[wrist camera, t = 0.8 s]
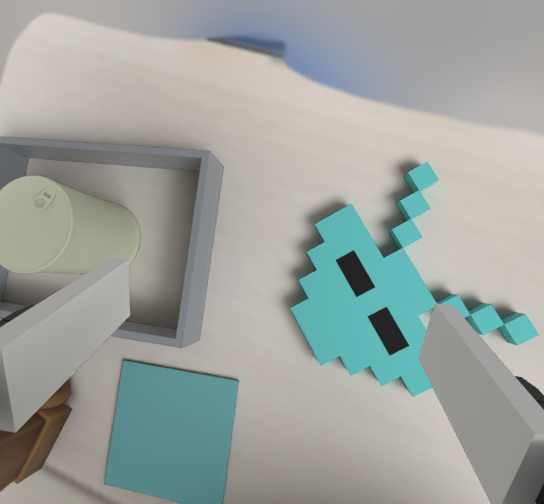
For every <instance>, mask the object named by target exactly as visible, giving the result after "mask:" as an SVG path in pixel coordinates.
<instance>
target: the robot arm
mask: <svg viewBox="0 0 544 504" xmlns="http://www.w3.org/2000/svg"><path fill="white" fill-rule="evenodd" d="M129 316H130V293H129V260H126V259H119V258H112V257H111V258H110V259H108V260H107V261H105V262H103V263H102V264H100V265H99V266H97V267H96V268H94V269H92V270H91V271H89V272H88V273H86V274H84V275H83V276H81V277H80V278H78V279H76V280H75V281H73V282H72V283H70V284H68V285H67V286H65V287H64V288H62V289H60V290H59V291H57V292H56V293H54V294H53V295H51V296H49V297H48V298H46V299H45V300H43V301H41V302H40V303H38V304H37V305H31V306H28V307H25V308H23V309H20V310H17V311H15V312H13V313H12V314H10V315H8V316H7V317H5V318H3V319H2V321H0V430H3V431H9V432H15V433H16V432H17V431H18V430H19V429H20V428H21V427H22V426H23V425H24V424H25V423H26V422H27V421H28V420H29V419H30V418H31V417H32V416H33V414H34V413H35V412H36V411H37V410H38V409H39V408H40V407H41V406H42V405H43V404H44V403H45V402H46V401H47V400H48V399H49V398H50V397H51V396H52V395H53V394H54V393H55V392H56V391H57V390H58V389H59V388H60V387H61V386H62V385H63V384H64V383H65V382H66V381H67V380H68V379H69V378H70V377H71V376H72V375H73V373H74V372H75V371H76V370H77V369H78V368H79V367H80V366H81V365H82V364H83V363H84V362H85V361H86V360H87V359H88V358H89V357H90V356H91V355H92V354H93V353H94V352H95V351H96V350H97V349H98V348H99V347H100V346H101V345H102V344H103V343H104V342H105V341H106V340H107V339H108V338H109V337H110V336H111V335H112V334H113V332H114V331H115V330H116V329H117V328H118V327H119V326H120V325H121V324H122V323H123V322H124V321H125V320H126V319H127V318H128V317H129ZM418 359H419V361H420V363H421V365H422V367H423V369H424V371H425V373H426V375H427V377H428V379H429V381H430V383H431V385H432V387H433V389H434V391H435V393H436V395H437V397H438V399H439V401H440V403H441V405H442V407H443V409H444V411H445V413H446V415H447V417H448V419H449V421H450V423H451V425H452V427H453V429H454V431H455V433H456V435H457V437H458V439H459V441H460V443H461V445H462V447H463V449H464V451H465V453H466V455H467V457H468V459H469V461H470V463H471V465H472V467H473V469H474V471H475V473H476V475H477V477H478V479H479V481H480V483H481V485H482V487H483V489H484V491H485V493H486V495H487V497H488V499H489V501H490V503H491V504H544V395H543V394H542V393H541V392H540V391H539V390H538V389H537V388H536V387H534V386H533V385H532V384H530V383H529V382H527V381H526V380H525V379H523V378H522V377H517V376H514V375H513V374H512V373H511V371H510V370H509V369H508V368H507V367H506V366H505V365H504V363H503V362H502V361H501V360H500V359H499V358H498V356H497V355H496V354H495V353H494V352H493V351H492V350H491V348H490V347H489V346H488V345H487V344H486V343H485V341H484V340H483V339H482V338H481V337H480V336H479V335H478V333H477V332H476V331H475V330H474V329H473V328H472V326H471V325H470V324H469V323H468V322H467V321H466V320H465V318H464V317H463V316H462V315H461V314H460V313H459V311H458V310H457V309H456V308H455V307H454V306H452V305H445V304H438V303H435V304H434V307H433V311H432V314H431V317H430V321H429V324H428V327H427V331H426V334H425V337H424V341H423V344H422V347H421V351H420V354H419V357H418Z"/></svg>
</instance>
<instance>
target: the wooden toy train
mask: <svg viewBox="0 0 544 504" xmlns="http://www.w3.org/2000/svg"><path fill="white" fill-rule="evenodd" d="M70 394H71V393H70V383H69V381H68V380H67V381H66V382H65V383H64V384H63V385H62V386H61V387H60V388H59V389H58V390H57V391H56V392H55V393H54V394H53V395H52V396H51V397H50V398H49V399H48V400H47V401H46V402H45V403H44V404H43V405H42V406H41V407H40V408H39V409H38V410H37V411H36V412H35V413H34V414H33V416H32V417H31V418H30V419H29V420H28V421H27V422H26V423H25V424H24V425H23V426H22V427H21V428H20V429H19V430H18V431H17V432H16V433H15V432H9V431H3V430H0V492H1V491H2V490H3V489H4V488H5V487H6V486H8V485H9V484H10V483H11V482H13V481H14V482H15V483H16V484H18V483H19V482H21V481H22V480H24V479H25V478H27V477H28V476H30V475H32V474H33V473H35V472H36V471H38V470H39V469H41V468H42V466H43V464H44V463H45V461H46V459H47V457H48V455H49V453H50V451H51V449H52V447H53V445H54V443H55V441H56V439H57V438H58V436H59V434H60V432H61V430H62V428H63V426H64V424H65V422H66V420H67V418H68V416H69V414H70V413H71V411H72V408H70V407H69V406H68V405H66V404H65V403H64V402H65V401H66V400H67V399H68V397H69V396H70Z"/></svg>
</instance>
